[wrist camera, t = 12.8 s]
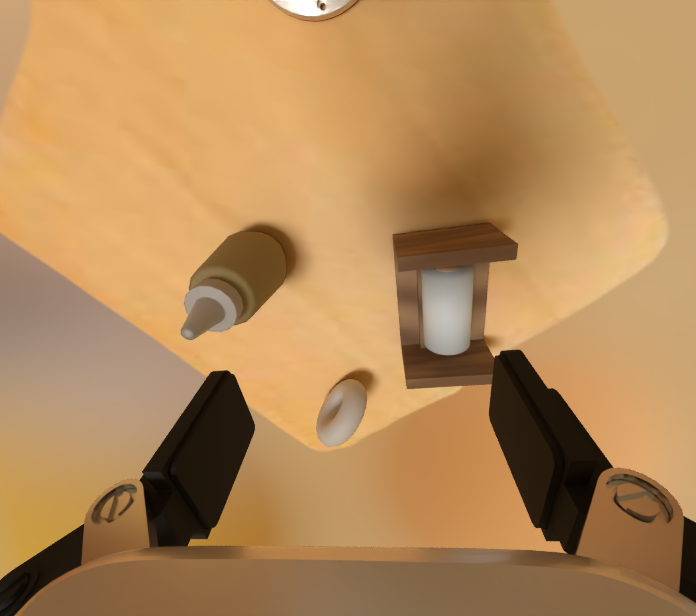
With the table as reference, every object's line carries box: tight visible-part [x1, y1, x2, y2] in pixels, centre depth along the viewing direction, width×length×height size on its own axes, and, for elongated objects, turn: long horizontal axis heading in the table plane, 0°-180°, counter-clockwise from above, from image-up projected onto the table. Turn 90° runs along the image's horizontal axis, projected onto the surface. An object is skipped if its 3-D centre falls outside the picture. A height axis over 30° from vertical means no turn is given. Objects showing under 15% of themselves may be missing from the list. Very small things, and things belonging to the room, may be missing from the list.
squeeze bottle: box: [181, 231, 287, 340], centre depth 31 cm, size 8×8×18 cm
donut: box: [316, 379, 367, 447], centre depth 45 cm, size 10×4×10 cm, turn 143°
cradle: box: [393, 223, 518, 389], centre depth 36 cm, size 17×11×8 cm, turn 8°
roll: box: [421, 264, 474, 355], centre depth 37 cm, size 10×6×6 cm, turn 9°
